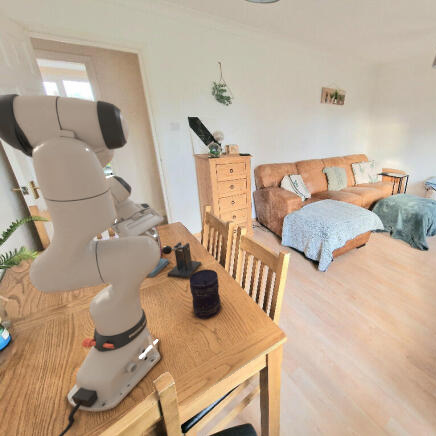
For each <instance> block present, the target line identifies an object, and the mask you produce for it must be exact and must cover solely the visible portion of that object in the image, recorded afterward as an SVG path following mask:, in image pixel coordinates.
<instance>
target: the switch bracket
mask: <svg viewBox="0 0 436 436" xmlns="http://www.w3.org/2000/svg"><path fill="white" fill-rule="evenodd" d="M179 245H182V242H181V241H178V243H175V245H174V246H173V248H177V247H178V246H179ZM174 257H175V263H176V265H175V266H174V267H172V269H171V270H170V271H168V273H167V276H168V277H171V278H178V279H179V278H180V279H186V280H188V279H190V277H191V275H192V274H194V273H195V272H197V270H198V269H199V268H200V267H201V265H202V261H198V260H192V253H191V246H190V242H186V243H185V244H184V246H183V247H182V251H178V250H175V251H174Z"/></svg>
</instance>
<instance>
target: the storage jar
mask: <svg viewBox="0 0 436 436" xmlns="http://www.w3.org/2000/svg"><path fill="white" fill-rule="evenodd" d="M188 281H189V289H190V293H191V296H192V309H193V314H194V316H195V317H196V318H197V319H203V320H207V319H210V318H211V319H212V318H213V317H215V316H216V315H217V314H219V312H220V310H221V297H220V293H219V288H220V285H219V276H218V273H217V272H216V271H215V270H214V269H201V270H198V271H197V270H196V271H195V272H194V273H193V274H192V275H191V276H190V278H189V280H188Z"/></svg>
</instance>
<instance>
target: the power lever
mask: <svg viewBox="0 0 436 436" xmlns="http://www.w3.org/2000/svg"><path fill="white" fill-rule="evenodd" d="M184 245H185V244H184ZM184 245H183V244H181V245H179V246H178V247H177V248H174V247H171V246H170V245H165V246H163V247H162V251H161V253H163V254H164V255H170V254H171V253H172V252H175V250H178V251H182V247H183V246H184ZM182 252H183V251H182Z"/></svg>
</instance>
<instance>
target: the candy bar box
mask: <svg viewBox="0 0 436 436" xmlns="http://www.w3.org/2000/svg"><path fill="white" fill-rule="evenodd" d="M155 229H156V231H157V234H158V235H159V236H160V231H159V225H158V226H156V227H155ZM148 232H149V231H148ZM149 234H151V235H153V234H152V233H150V232H149ZM155 241H156V243H157V244H158V246H159V248H160V258H162V249H163V247H162V243H161V237H159V238H158V239H156V240H155Z"/></svg>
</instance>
